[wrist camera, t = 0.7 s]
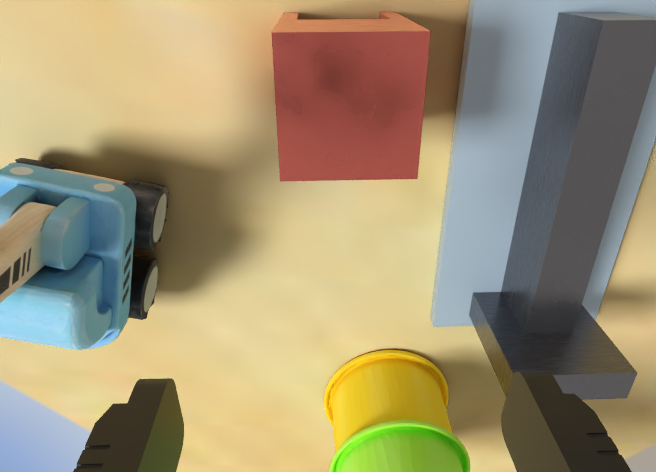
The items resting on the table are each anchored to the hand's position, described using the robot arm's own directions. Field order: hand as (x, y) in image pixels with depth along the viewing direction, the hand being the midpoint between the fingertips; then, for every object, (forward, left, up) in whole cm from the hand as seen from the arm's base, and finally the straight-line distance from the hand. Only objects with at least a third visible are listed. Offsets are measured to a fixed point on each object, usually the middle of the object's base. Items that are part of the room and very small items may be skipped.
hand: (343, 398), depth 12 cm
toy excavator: (+3, -14, -21) cm, 25 cm away
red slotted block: (-4, +1, -20) cm, 21 cm away
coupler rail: (+3, +14, -19) cm, 24 cm away
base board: (+3, +14, -20) cm, 25 cm away
